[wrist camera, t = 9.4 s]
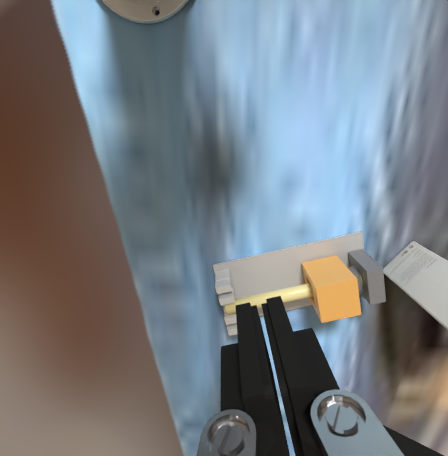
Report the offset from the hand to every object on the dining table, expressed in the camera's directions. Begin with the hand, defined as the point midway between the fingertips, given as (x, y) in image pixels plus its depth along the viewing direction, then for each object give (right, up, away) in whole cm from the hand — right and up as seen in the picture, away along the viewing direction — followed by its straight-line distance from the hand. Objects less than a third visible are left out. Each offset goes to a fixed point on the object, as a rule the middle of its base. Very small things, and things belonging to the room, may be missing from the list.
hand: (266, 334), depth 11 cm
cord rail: (+8, -4, +34) cm, 35 cm away
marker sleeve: (+13, -3, +34) cm, 36 cm away
